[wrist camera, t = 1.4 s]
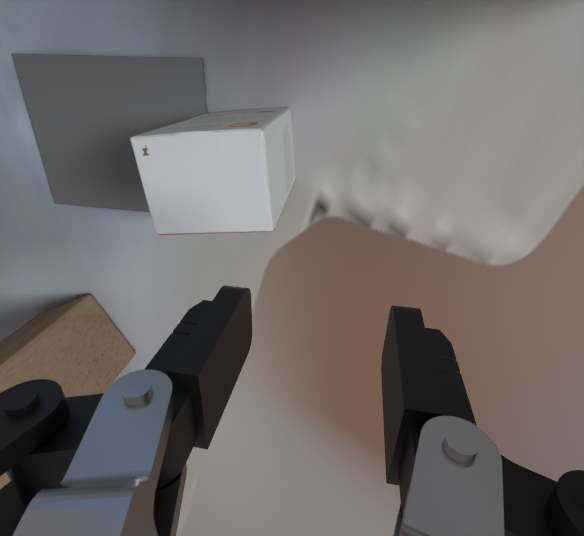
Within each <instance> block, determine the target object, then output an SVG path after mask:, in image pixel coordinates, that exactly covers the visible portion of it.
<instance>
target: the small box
mask: <svg viewBox="0 0 584 536" xmlns="http://www.w3.org/2000/svg"><path fill="white" fill-rule="evenodd" d="M130 141H131V144H132V147H133V151H134V154H135V158H136V162H137V166H138V170H139V173H140V177H141V181H142V185H143V188H144V192H145V196H146V199H147V203H148V206H149V210H150V214H151V217H152V221H153V224H154V228H155V232H156V234H157V235H174V234H206V233H241V232H272V231H273V230H274V228H275V225H276V223H277V220H278V218H279V216H280V214H281V211H282V209H283V207H284V204H285V202H286V200H287V197H288V195H289V193H290V191H291V188H292V186H293V183H294V181H295V179H296V177H295V163H294V150H293V136H292V122H291V109H290V108H289V107H284V108H269V109H256V110H243V111H231V112H219V113H209V114H202V115H200V116H197V117H194V118H191V119H188V120H185V121H182V122H179V123H175V124H171V125H168V126H165V127H161V128H158V129H155V130H152V131H148V132H145V133H142V134H139V135H136V136H133V137H131V138H130Z"/></svg>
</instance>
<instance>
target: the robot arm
mask: <svg viewBox="0 0 584 536" xmlns="http://www.w3.org/2000/svg"><path fill="white" fill-rule="evenodd" d="M251 340H252V312H251V292H250V289H249V288H241V287H233V286H223V287H222V288H221V289H220V291H219V292H218V294H217V295H216V297H215V298H214V300H213V301H206V300H203V301H202V302H200V303H199V304H197V305H195V306H194V307H192V308H191V309H189V311H188V312H187V313H186V315H185V316H184V317H183V319H182V320H181V322H180V324H178V325H177V327H176V328H175V329H174V331H173V334H171V335H170V336H169V337H168V339H167V340H166V341H165V343H164V344H163V345H162V347H161V348H160V349H159V351H158V352H157V353H156V355H155V356H154V357H153V359H152V360H151V361H150V363H149V364H148V365H147V367H146V368H145V369H144V370H139V371H134V372H131V373H128V374H126V375H124V376H122V377H120V378H119V379H117V380H116V381H114V382H113V383H112V384H111V385H110V386H109V387H108V388H107V389H106V391H105V392H104V393H101V394H93V395H84V396H75V397H65V395H64V393H63V390H62V388H61V386H60V385H59V384H58V383H57V382H55V381H53V380H49V379H36V380H30V381H26V382H23V383H20V384H17V385H15V386H13V387H10V388H8V389H7V390H5V391H3V392H1V393H0V476H2V475H3V474H4V473H7V475H8V477H9V479H10V480H11V481H10V482H9V483H7V484H6V485H5V486H4V487H2V488H1V489H0V536H176V532H177V527H178V521H179V515H180V509H181V503H182V497H183V491H184V486H185V480H186V474H187V465H186V461H187V459H188V457H189V455H190V453H191V451H192V448H193V447H198V448H203V449H208V447H209V445H210V443H211V440H212V438H213V435H214V433H215V431H216V428H217V426H218V424H219V421H220V419H221V417H222V414H223V412H224V409H225V407H226V405H227V402H228V400H229V398H230V395H231V393H232V390H233V388H234V386H235V383H236V381H237V379H238V376H239V374H240V372H241V369H242V366H243V365H244V362H245V360H246V357H247V355H248V353H249V350H250V345H251ZM381 367H382V368H381V374H382V395H383V417H384V439H385V460H386V482H387V483H389V484H394V485H400V498H401V505H400V508H399V512H398V515H397V520H396V525H395V530H394V535H393V536H584V471H581V470H575V471H569V472H567V473H565V474H563V475H562V476H561V477H560V478H559V480H558V482H556V481H554V480H551V479H549V478H547V477H545V476H542V475H540V474H537V473H535V472H533V471H531V470H528V469H526V468H524V467H521V466H519V465H517V464H515V463H513V462H511V461H510V460H508V459H506V458H505V457H504V456H502V455H501V454H500V452H499V450H498V448H497V446H496V444H495V443H494V441H493V440H492V439H491V438H490V437H489V436H488V435H487V433H485V432H484V431H483V430H482V429H480V428H479V427H478V426H477V425H476V422H475V419H474V416H473V412H472V409H471V405H470V402H469V399H468V396H467V393H466V389H465V386H464V383H463V380H462V376H461V374H460V370H459V366H458V363H457V361H456V357H455V353H454V350H453V347H452V344H451V342H450V341H449V340H448V339H447V338H446V337H445V336H444V334H443V333H442V332H441V331H440V330H438V329H430V328H425V327H424V322H423V318H422V313H421V310H420V309H419V308H410V307H402V306H391V309H390V314H389V319H388V325H387V330H386V336H385V341H384V348H383V353H382V366H381Z"/></svg>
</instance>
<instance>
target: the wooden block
mask: <svg viewBox="0 0 584 536" xmlns="http://www.w3.org/2000/svg"><path fill="white" fill-rule="evenodd" d="M135 353H136V352H135V350H134V349H133V347H132V346H131V345H130V343H129V342H128V341H127V340H126V338H125V337H124V336H123V334H122V333H121V332H120V331H119V329H118V328H117V327H116V325H115V324H114V323H113V321H112V320H111V319H110V318H109V316H108V315H107V314H106V312H105V311H104V310H103V308H102V307H101V306H100V305H99V303H98V302H97V301H96V299H95V298H94V297H93V296H92V295H91V294H87V295H84V296H82V297H79V298H77V299H75V300H72V301H70V302H67V303H65V304H62V305H60V306H58V307H55V308H53V309H50V310H48V311H45V312H43V313H41V314H38V315H37V316H36V317H34V318H33V319H32V320H30V321H29V322H27V323H26V324H25V325H23V326H22V327H21V328H19V329H18V330H17V331H15V332H14V333H13V334H11V335H10V336H9V337H7V338H6V339H4V340H3V341H2V342H0V393H1V392H3V391H5V390H7V389H8V388H10V387H13V386H15V385H17V384H20V383H23V382H26V381H30V380H36V379H49V380H53V381H55V382H57V383H58V384H59V385H60V386H61V388H62V390H63V393H64V395H65V397H75V396H84V395H93V394H101V393H104V392H105V390H106V389H107V388H108V387H109V386H110V384H111V383H112V382H113V381H114V379H115V378H116V377H117V376H118V375H119V373H120V372H121V371H122V370H123V368H124V367H125V366H126V365H127V364H128V362H129V361H130V360H131V359H132V358H133V356H134V355H135ZM10 481H11V480H10V479H9V477H8V475H7V473H4V474H3V475H2V476H0V489H1V488H2V487H4V486H5V485H6V484H7V483H9V482H10Z"/></svg>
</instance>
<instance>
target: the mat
mask: <svg viewBox="0 0 584 536" xmlns="http://www.w3.org/2000/svg"><path fill="white" fill-rule="evenodd" d="M12 57H13V60H14V64H15V67H16V71H17V74H18V78H19V81H20V85H21V88H22V91H23V95H24V98H25V102H26V105H27V109H28V112H29V115H30V119H31V122H32V126H33V129H34V133H35V136H36V140H37V143H38V146H39V150H40V153H41V157H42V160H43V164H44V167H45V171H46V174H47V177H48V181H49V184H50V188H51V191H52V195H53V198H54V202H55V204H66V205H77V206H89V207H100V208H111V209H122V210H134V211H145V212H150V210H149V206H148V203H147V199H146V196H145V192H144V188H143V185H142V181H141V177H140V173H139V170H138V166H137V162H136V158H135V154H134V151H133V147H132V144H131V141H130V138H131V137H133V136H136V135H139V134H142V133H145V132H148V131H152V130H155V129H158V128H161V127H165V126H168V125H171V124H175V123H179V122H182V121H185V120H188V119H191V118H194V117H197V116H200V115H202V114H207V102H206V89H205V76H204V64H203V58H174V57H131V56H88V55H44V54H12Z"/></svg>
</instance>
